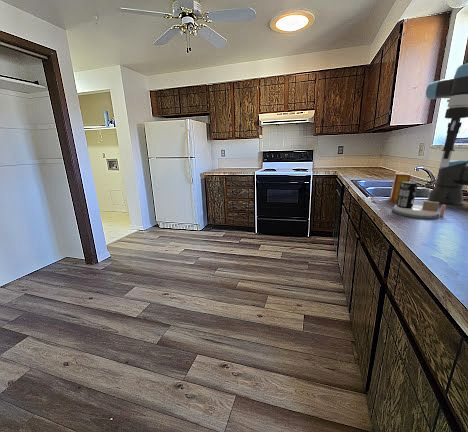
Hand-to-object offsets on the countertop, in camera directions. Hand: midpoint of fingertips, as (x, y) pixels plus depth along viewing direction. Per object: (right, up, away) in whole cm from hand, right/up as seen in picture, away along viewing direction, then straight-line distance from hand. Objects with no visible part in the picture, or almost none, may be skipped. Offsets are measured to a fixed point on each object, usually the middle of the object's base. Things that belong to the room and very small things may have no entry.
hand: (443, 166), depth 105 cm
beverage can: (-9, -17, +12) cm, 23 cm away
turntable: (-5, -19, +10) cm, 22 cm away
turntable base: (-5, -20, +10) cm, 23 cm away
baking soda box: (+3, -13, +35) cm, 38 cm away
